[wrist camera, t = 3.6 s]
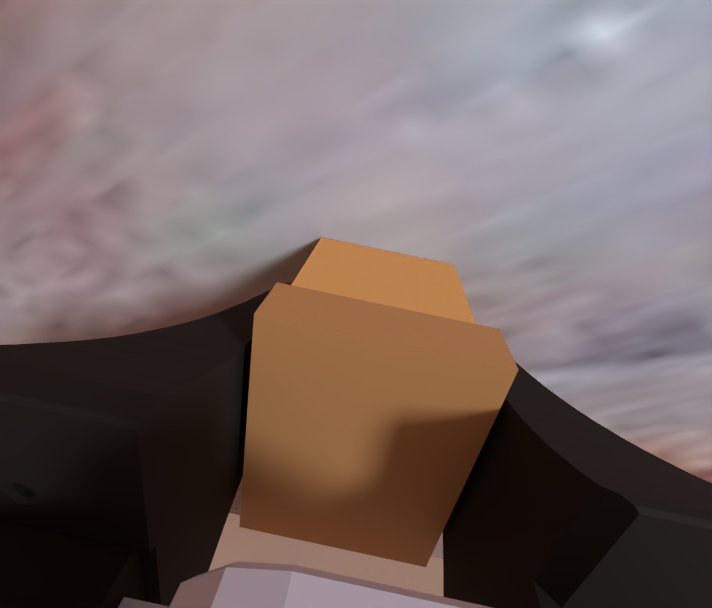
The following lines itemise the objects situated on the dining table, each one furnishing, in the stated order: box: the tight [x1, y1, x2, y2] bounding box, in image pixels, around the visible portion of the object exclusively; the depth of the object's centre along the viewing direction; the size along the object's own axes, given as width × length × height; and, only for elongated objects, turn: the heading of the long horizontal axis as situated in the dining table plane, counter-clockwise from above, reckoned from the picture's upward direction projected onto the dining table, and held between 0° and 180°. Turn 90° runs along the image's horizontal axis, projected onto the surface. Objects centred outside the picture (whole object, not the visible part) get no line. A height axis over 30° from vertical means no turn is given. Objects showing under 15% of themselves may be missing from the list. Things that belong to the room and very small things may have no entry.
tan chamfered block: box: [239, 237, 519, 567], centre depth 9 cm, size 4×5×6 cm
